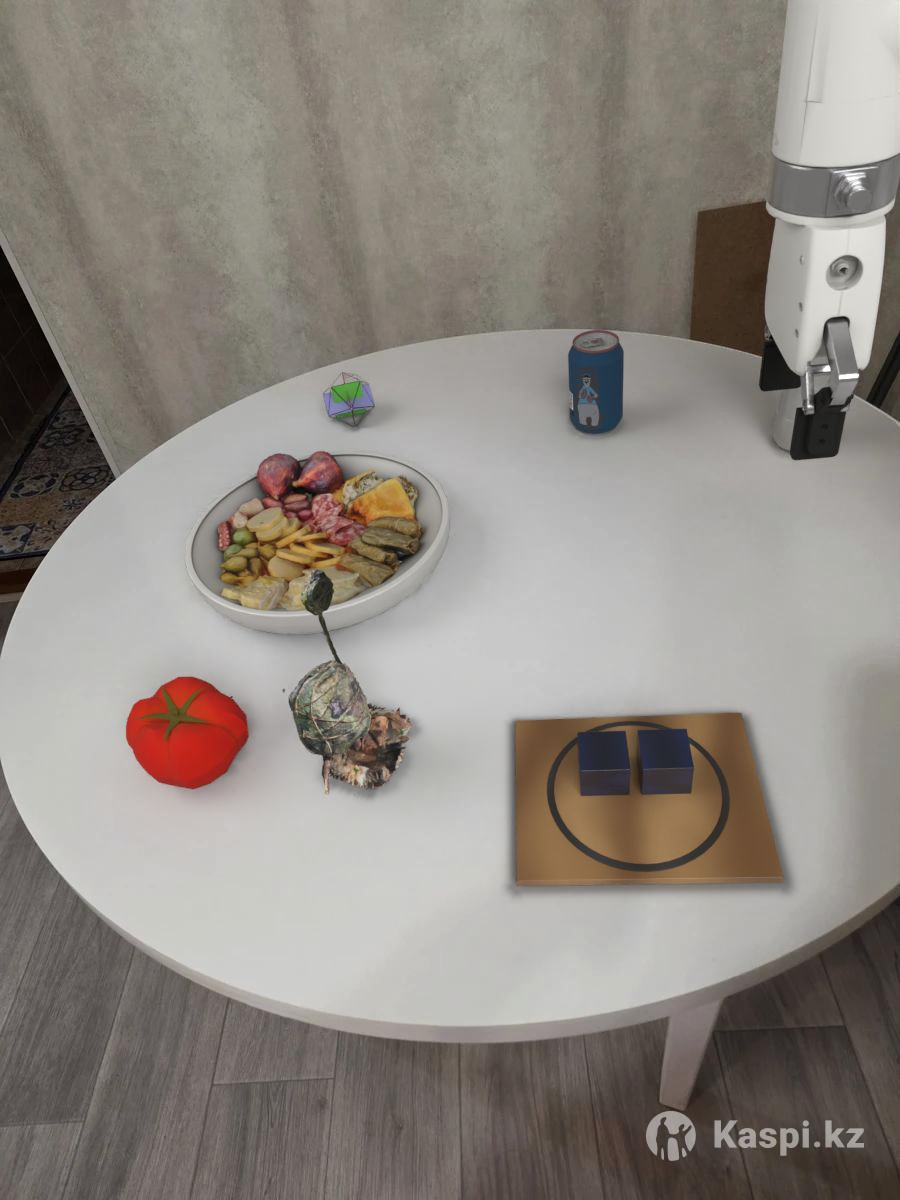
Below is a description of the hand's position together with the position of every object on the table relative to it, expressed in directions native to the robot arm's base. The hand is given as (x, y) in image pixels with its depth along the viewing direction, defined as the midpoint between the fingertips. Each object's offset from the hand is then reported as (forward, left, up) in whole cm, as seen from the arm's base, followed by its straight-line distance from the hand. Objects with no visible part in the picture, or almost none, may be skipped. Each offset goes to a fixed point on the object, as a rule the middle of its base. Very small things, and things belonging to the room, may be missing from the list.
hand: (795, 420), depth 65 cm
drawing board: (+13, +16, -26) cm, 33 cm away
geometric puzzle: (+46, -49, -26) cm, 72 cm away
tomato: (+53, +10, -26) cm, 59 cm away
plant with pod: (+37, +11, -26) cm, 46 cm away
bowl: (+45, -18, -26) cm, 55 cm away
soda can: (+12, -43, -26) cm, 52 cm away
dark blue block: (+15, +14, -25) cm, 32 cm away
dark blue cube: (+10, +14, -25) cm, 30 cm away
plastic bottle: (-12, -35, -26) cm, 46 cm away
